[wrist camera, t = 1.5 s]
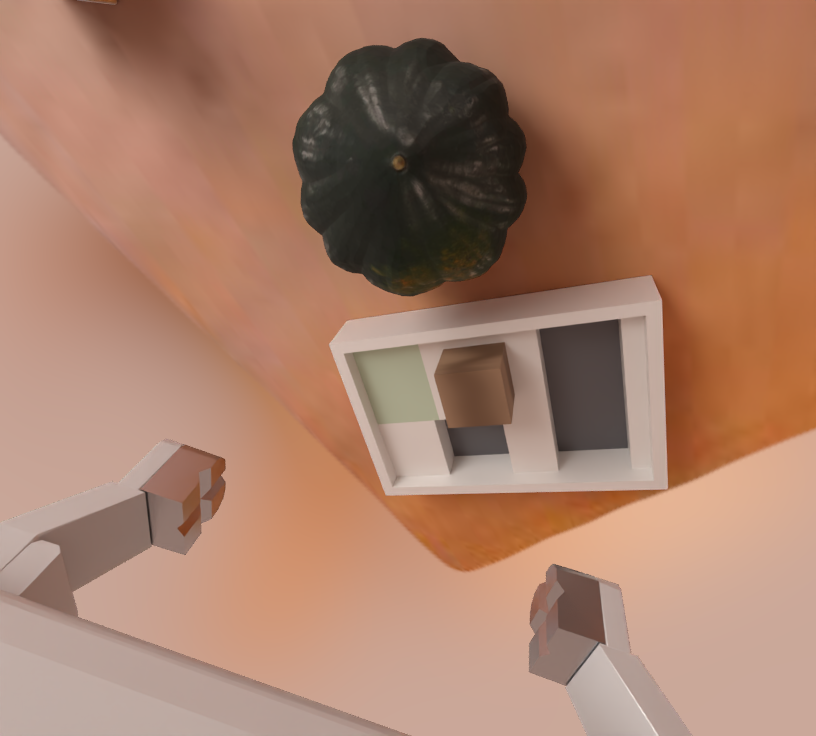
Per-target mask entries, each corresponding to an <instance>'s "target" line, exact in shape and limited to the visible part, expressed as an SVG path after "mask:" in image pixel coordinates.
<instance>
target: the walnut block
mask: <svg viewBox="0 0 816 736" xmlns="http://www.w3.org/2000/svg"><path fill="white" fill-rule="evenodd" d="M434 378H435V382H436V385H437V389H438V392H439V396H440V399H441V403H442V407H443V410H444V414H445V417H446V421H447V425H448V428H459V427H474V426H489V425H504V424H512V416H513V407H514V398H515V393H514V388H513V382H512V377H511V372H510V367H509V362H508V357H507V352H506V347H505V342H500V343H492V344H484V345H475V346H467V347H459V348H450V349H443V352H442V354H441V357H440V360H439V362H438V365H437V368H436V371H435V373H434Z"/></svg>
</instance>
